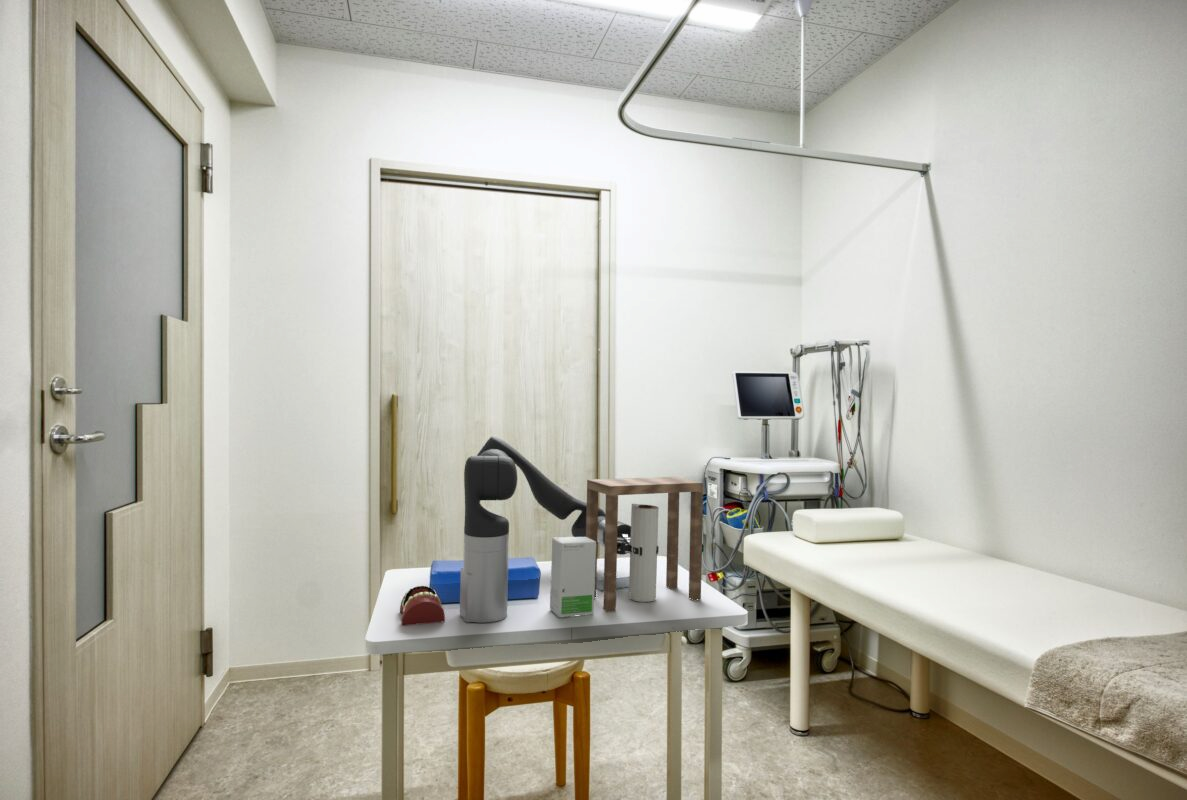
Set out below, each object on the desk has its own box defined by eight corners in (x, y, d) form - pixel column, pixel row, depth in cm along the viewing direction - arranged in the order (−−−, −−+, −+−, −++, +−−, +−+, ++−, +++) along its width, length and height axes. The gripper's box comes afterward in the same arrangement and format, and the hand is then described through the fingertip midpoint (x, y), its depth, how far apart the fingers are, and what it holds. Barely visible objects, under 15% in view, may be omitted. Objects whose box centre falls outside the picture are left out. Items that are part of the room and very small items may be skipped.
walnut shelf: (607, 612, 136) (610, 486, 136) (584, 596, 147) (587, 479, 147) (700, 599, 146) (703, 482, 146) (673, 585, 157) (675, 476, 157)
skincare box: (558, 618, 131) (560, 543, 131) (548, 609, 137) (550, 537, 137) (595, 614, 134) (597, 541, 134) (584, 605, 140) (586, 534, 140)
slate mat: (600, 591, 151) (600, 589, 151) (586, 582, 158) (586, 581, 158) (651, 585, 157) (651, 584, 157) (635, 577, 164) (635, 575, 164)
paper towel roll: (656, 603, 143) (659, 508, 143) (629, 602, 143) (632, 507, 143) (654, 593, 150) (657, 503, 150) (628, 592, 150) (631, 502, 150)
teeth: (438, 577, 138) (445, 594, 126) (439, 606, 138) (446, 625, 126) (398, 582, 135) (401, 599, 123) (398, 611, 135) (402, 631, 123)
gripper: (639, 548, 162) (675, 564, 147) (589, 553, 156) (621, 570, 141) (640, 519, 162) (676, 532, 147) (590, 522, 156) (621, 536, 141)
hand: (648, 550), depth 144 cm, fingers closed on paper towel roll, 3 cm apart
